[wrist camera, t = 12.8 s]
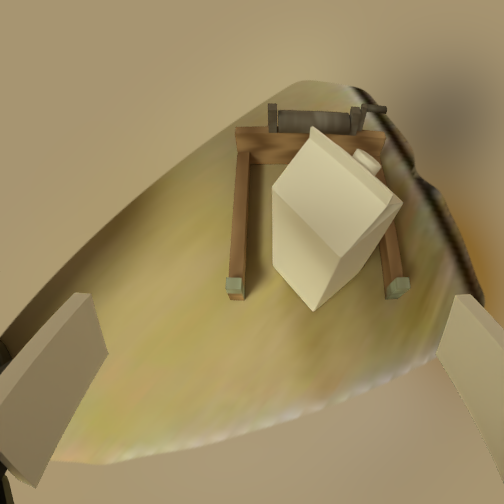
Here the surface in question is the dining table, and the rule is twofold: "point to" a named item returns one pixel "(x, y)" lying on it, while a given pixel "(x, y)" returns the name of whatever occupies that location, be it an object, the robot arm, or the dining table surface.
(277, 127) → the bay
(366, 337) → the dining table surface
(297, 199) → the milk carton
